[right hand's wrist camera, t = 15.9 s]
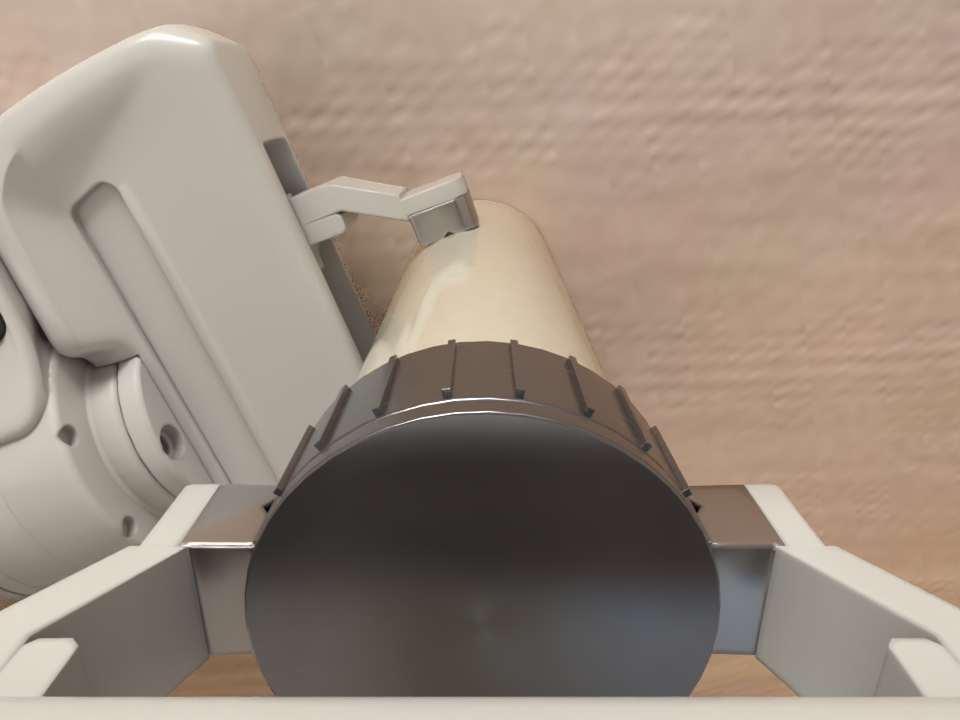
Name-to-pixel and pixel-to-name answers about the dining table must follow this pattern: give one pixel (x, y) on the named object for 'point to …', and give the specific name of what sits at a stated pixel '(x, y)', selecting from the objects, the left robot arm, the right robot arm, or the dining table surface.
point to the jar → (483, 294)
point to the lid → (482, 540)
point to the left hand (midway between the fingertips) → (508, 299)
